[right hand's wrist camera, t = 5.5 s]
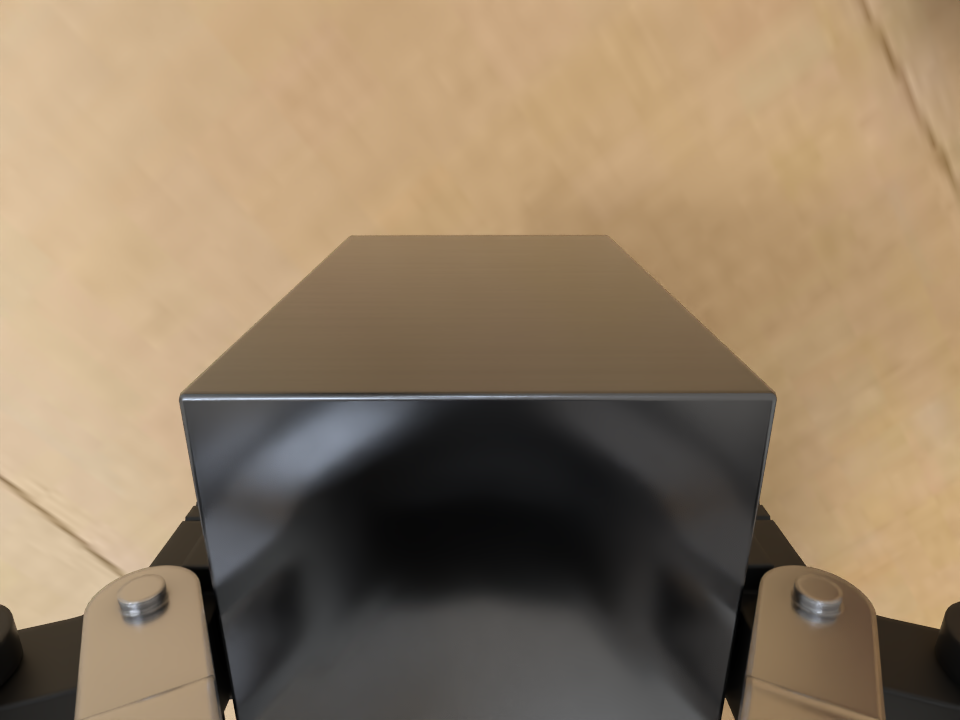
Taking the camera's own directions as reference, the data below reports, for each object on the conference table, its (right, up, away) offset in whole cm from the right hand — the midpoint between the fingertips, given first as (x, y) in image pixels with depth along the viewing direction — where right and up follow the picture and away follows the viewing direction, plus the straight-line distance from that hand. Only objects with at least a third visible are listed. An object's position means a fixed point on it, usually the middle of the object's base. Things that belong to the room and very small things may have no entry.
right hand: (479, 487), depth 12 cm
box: (0, -5, +7) cm, 9 cm away
